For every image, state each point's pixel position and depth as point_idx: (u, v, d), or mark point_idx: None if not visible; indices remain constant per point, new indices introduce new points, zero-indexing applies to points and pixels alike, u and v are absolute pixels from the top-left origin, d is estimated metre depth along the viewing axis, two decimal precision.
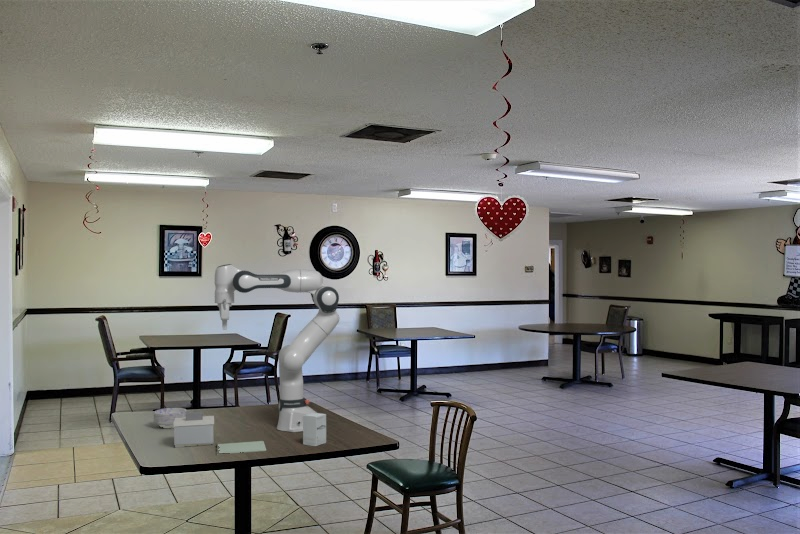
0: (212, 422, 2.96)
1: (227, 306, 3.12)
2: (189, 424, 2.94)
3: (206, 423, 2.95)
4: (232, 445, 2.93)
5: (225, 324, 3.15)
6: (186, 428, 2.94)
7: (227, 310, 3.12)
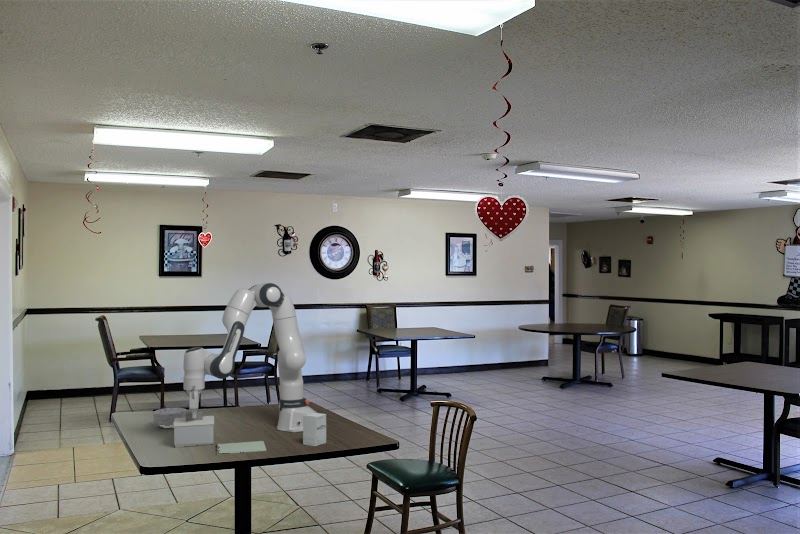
0: (212, 422, 2.96)
1: (196, 395, 2.92)
2: (189, 424, 2.94)
3: (206, 423, 2.95)
4: (232, 445, 2.93)
5: (194, 412, 2.97)
6: (186, 428, 2.94)
7: (196, 399, 2.91)
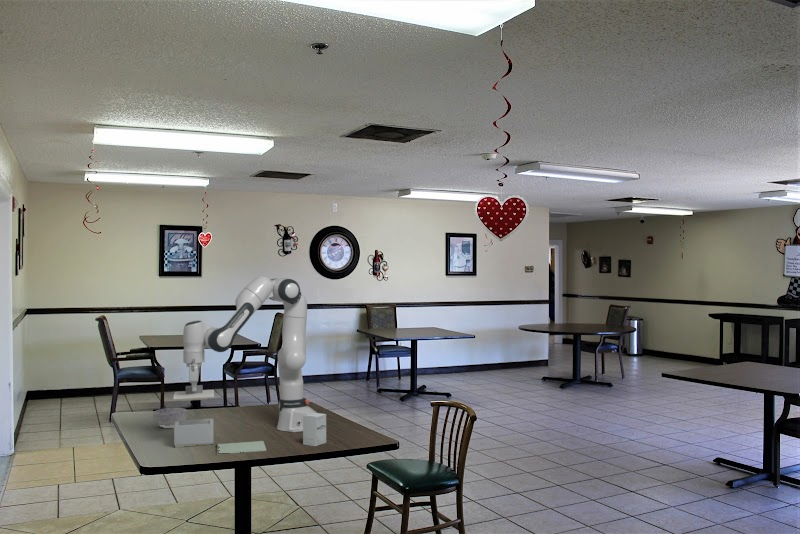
0: (212, 395, 2.96)
1: (196, 367, 2.92)
2: (189, 397, 2.94)
3: (206, 396, 2.96)
4: (232, 445, 2.93)
5: (194, 385, 2.97)
6: (186, 428, 2.94)
7: (196, 372, 2.91)
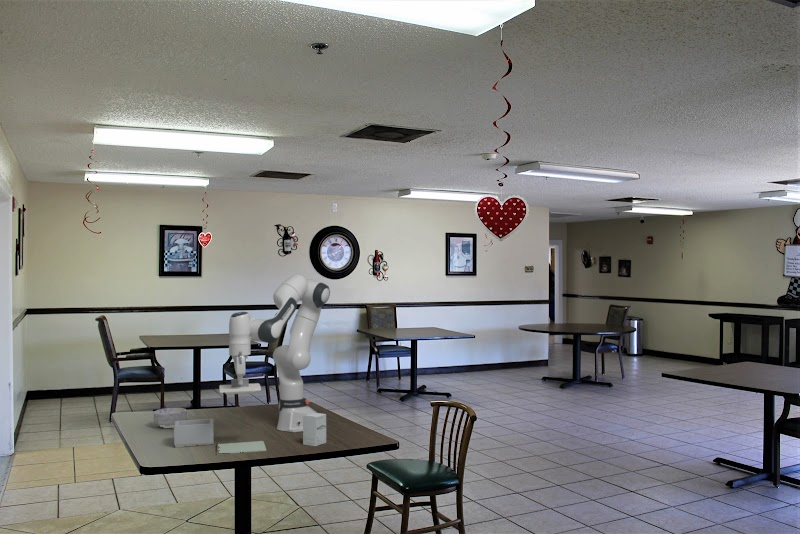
0: (259, 388, 2.87)
1: (243, 360, 2.83)
2: (236, 390, 2.84)
3: (253, 389, 2.86)
4: (232, 445, 2.93)
5: (241, 378, 2.88)
6: (186, 428, 2.94)
7: (243, 364, 2.82)
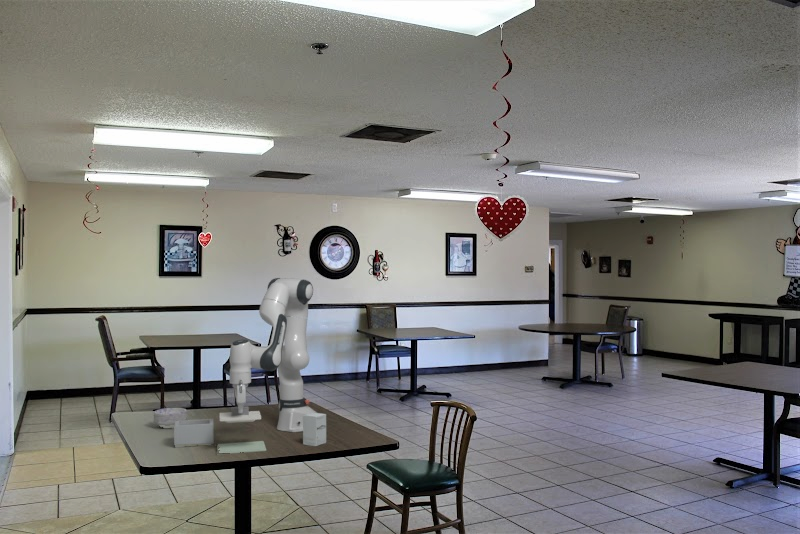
0: (259, 417, 2.87)
1: (244, 389, 2.82)
2: (236, 419, 2.84)
3: (253, 418, 2.86)
4: (232, 445, 2.93)
5: (241, 407, 2.87)
6: (186, 428, 2.94)
7: (244, 393, 2.82)
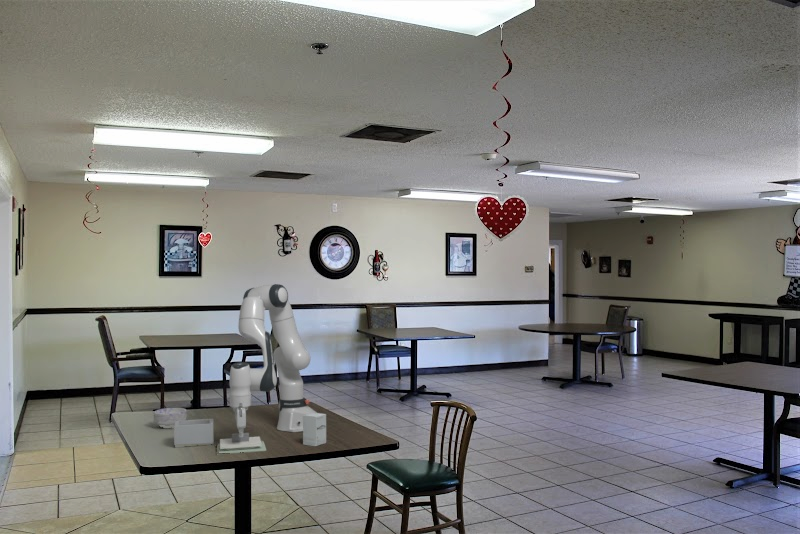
0: (259, 444, 2.87)
1: (244, 412, 2.82)
2: (236, 446, 2.84)
3: (253, 445, 2.86)
4: None
5: (241, 431, 2.86)
6: (186, 428, 2.94)
7: (244, 417, 2.82)
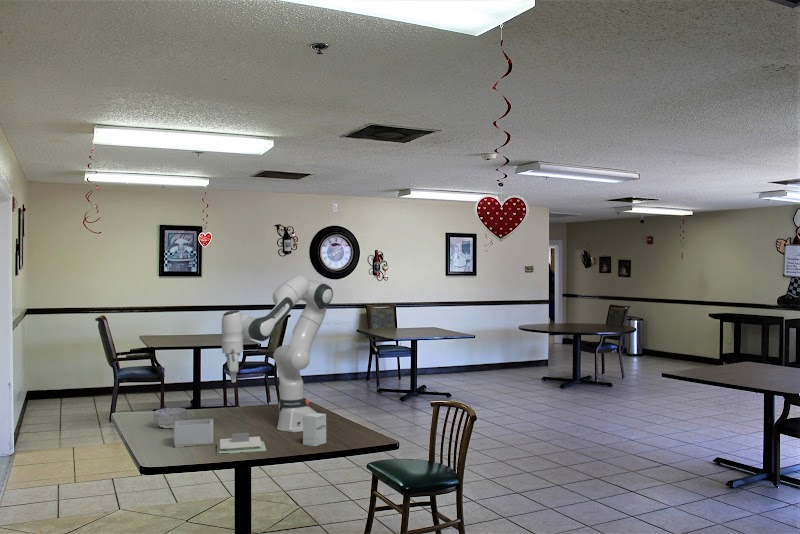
0: (259, 444, 2.87)
1: (236, 357, 2.89)
2: (236, 446, 2.84)
3: (253, 445, 2.86)
4: None
5: (234, 376, 2.92)
6: (186, 428, 2.94)
7: (236, 362, 2.89)
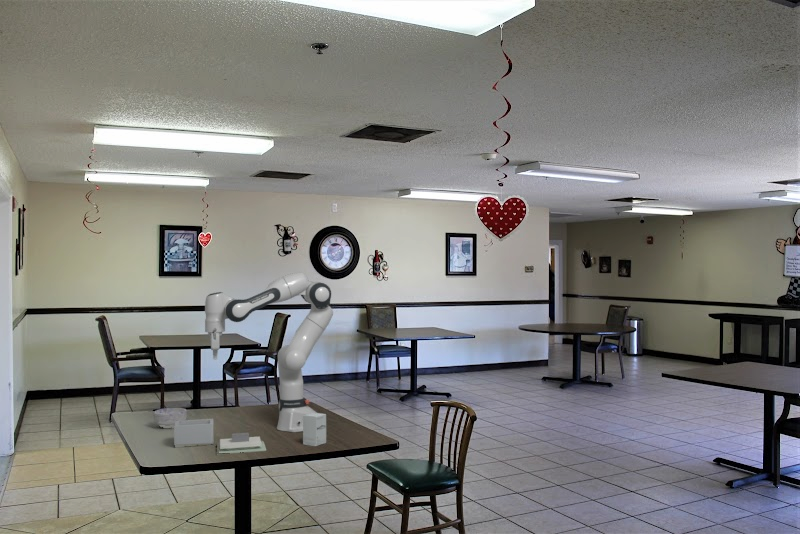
0: (259, 444, 2.87)
1: (217, 336, 3.06)
2: (236, 446, 2.84)
3: (253, 445, 2.86)
4: None
5: (215, 354, 3.09)
6: (186, 428, 2.94)
7: (217, 340, 3.06)
